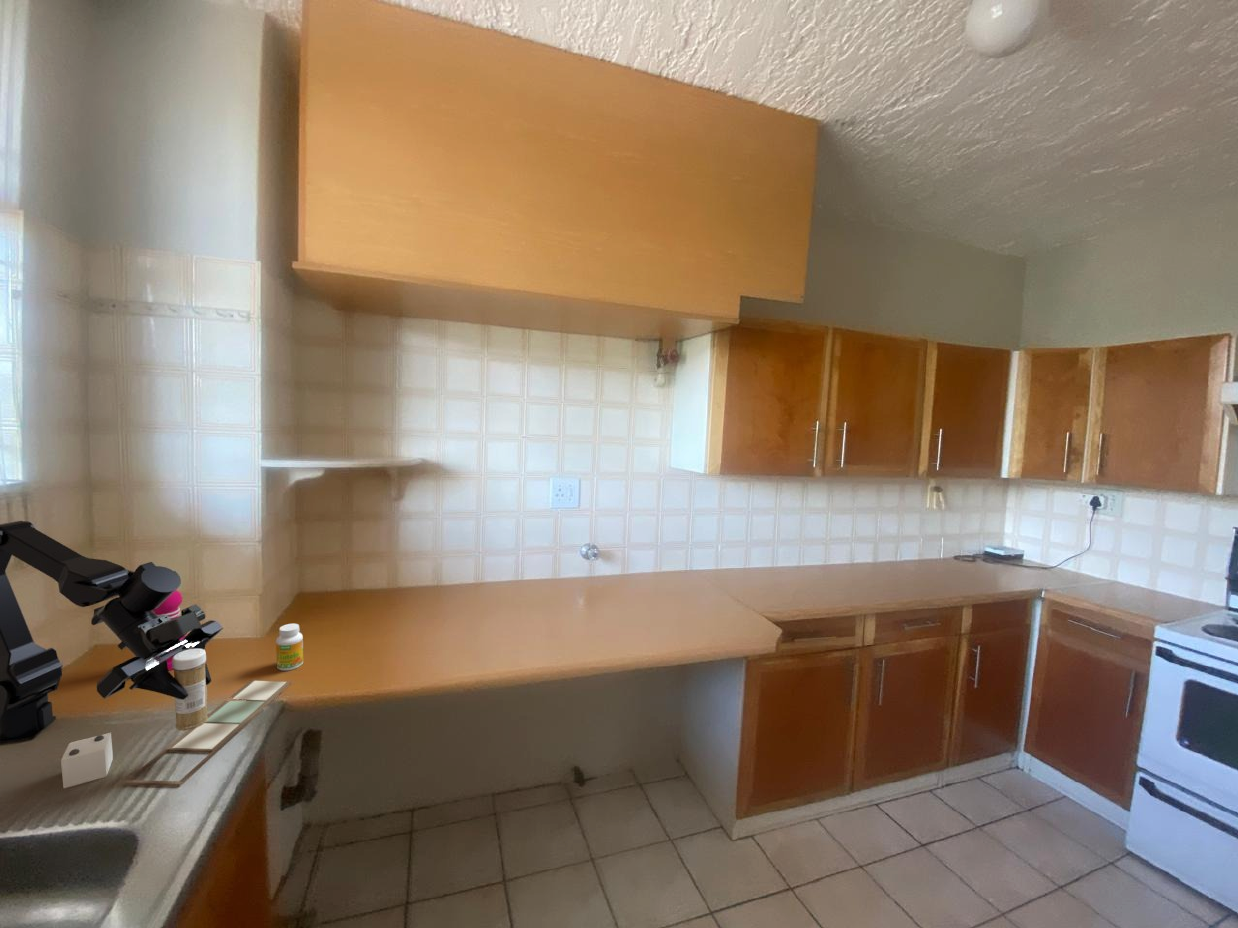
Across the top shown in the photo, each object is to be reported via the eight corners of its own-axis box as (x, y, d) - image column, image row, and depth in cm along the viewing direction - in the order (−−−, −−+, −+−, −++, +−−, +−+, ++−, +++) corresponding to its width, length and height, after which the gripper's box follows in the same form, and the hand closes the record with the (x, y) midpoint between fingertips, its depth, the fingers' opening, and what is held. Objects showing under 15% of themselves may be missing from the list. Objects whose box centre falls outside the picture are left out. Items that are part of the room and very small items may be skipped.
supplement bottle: (277, 673, 118) (276, 634, 117) (276, 662, 122) (275, 625, 121) (304, 667, 121) (303, 629, 120) (302, 657, 125) (301, 620, 124)
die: (63, 788, 82) (60, 756, 82) (72, 769, 86) (69, 739, 86) (106, 776, 85) (104, 745, 84) (112, 758, 89) (110, 729, 88)
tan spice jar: (208, 713, 94) (206, 645, 93) (207, 726, 91) (205, 655, 89) (176, 721, 91) (173, 650, 90) (173, 735, 88) (170, 662, 86)
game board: (123, 784, 84) (123, 781, 84) (250, 682, 114) (250, 679, 114) (179, 786, 84) (179, 783, 84) (291, 683, 114) (291, 681, 114)
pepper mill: (155, 676, 114) (150, 592, 111) (142, 666, 117) (137, 584, 115) (194, 663, 120) (190, 582, 118) (180, 654, 124) (176, 575, 121)
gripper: (108, 620, 79) (176, 694, 80) (212, 579, 98) (267, 639, 98) (66, 662, 81) (133, 733, 81) (176, 614, 99) (230, 672, 100)
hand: (197, 690), depth 90 cm, fingers closed on tan spice jar, 4 cm apart
